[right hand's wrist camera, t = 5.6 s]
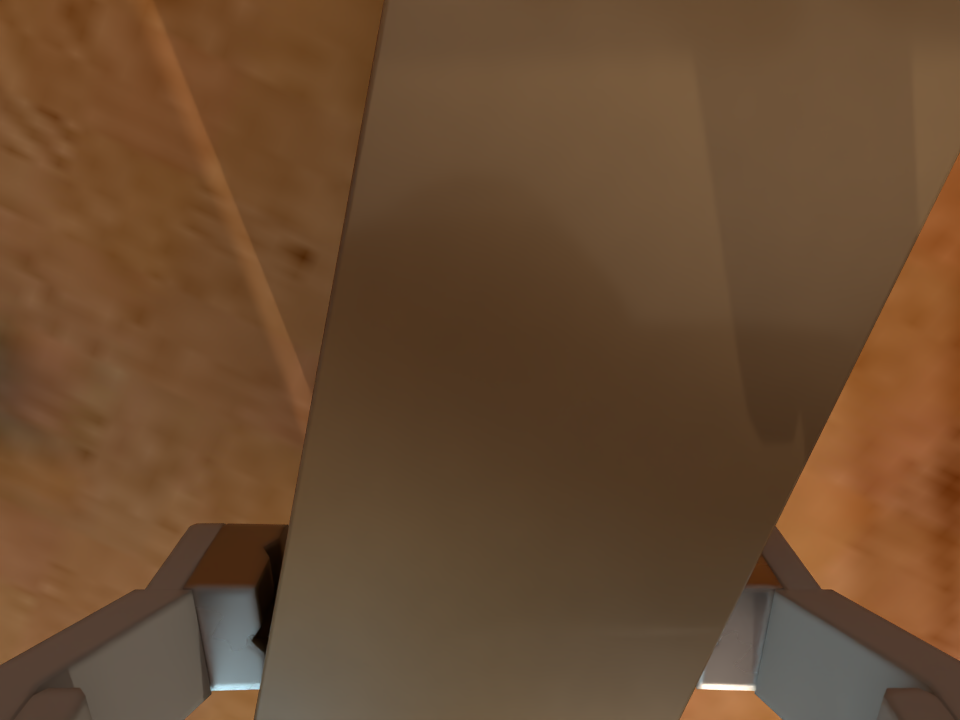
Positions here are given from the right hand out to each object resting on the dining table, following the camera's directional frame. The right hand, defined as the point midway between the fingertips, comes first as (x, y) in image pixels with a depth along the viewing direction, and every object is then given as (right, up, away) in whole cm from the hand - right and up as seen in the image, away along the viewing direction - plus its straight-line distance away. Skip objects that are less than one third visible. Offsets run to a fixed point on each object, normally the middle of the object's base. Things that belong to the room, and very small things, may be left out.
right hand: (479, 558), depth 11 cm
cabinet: (+1, +7, +5) cm, 9 cm away
